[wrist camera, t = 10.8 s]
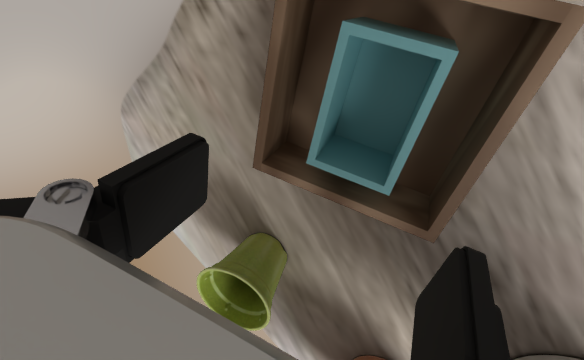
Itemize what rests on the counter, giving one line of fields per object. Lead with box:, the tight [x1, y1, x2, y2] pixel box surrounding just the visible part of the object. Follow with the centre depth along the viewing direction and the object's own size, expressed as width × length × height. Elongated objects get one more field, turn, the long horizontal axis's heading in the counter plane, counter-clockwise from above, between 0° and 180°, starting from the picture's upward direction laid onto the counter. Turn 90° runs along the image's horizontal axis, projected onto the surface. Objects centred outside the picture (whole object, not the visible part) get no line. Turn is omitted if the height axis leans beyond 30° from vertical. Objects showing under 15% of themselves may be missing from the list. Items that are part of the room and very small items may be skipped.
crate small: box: [306, 17, 459, 196], centre depth 22 cm, size 7×10×6 cm, turn 169°
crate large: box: [253, 0, 584, 243], centre depth 22 cm, size 16×16×6 cm
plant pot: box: [197, 233, 287, 331], centre depth 36 cm, size 9×9×9 cm
